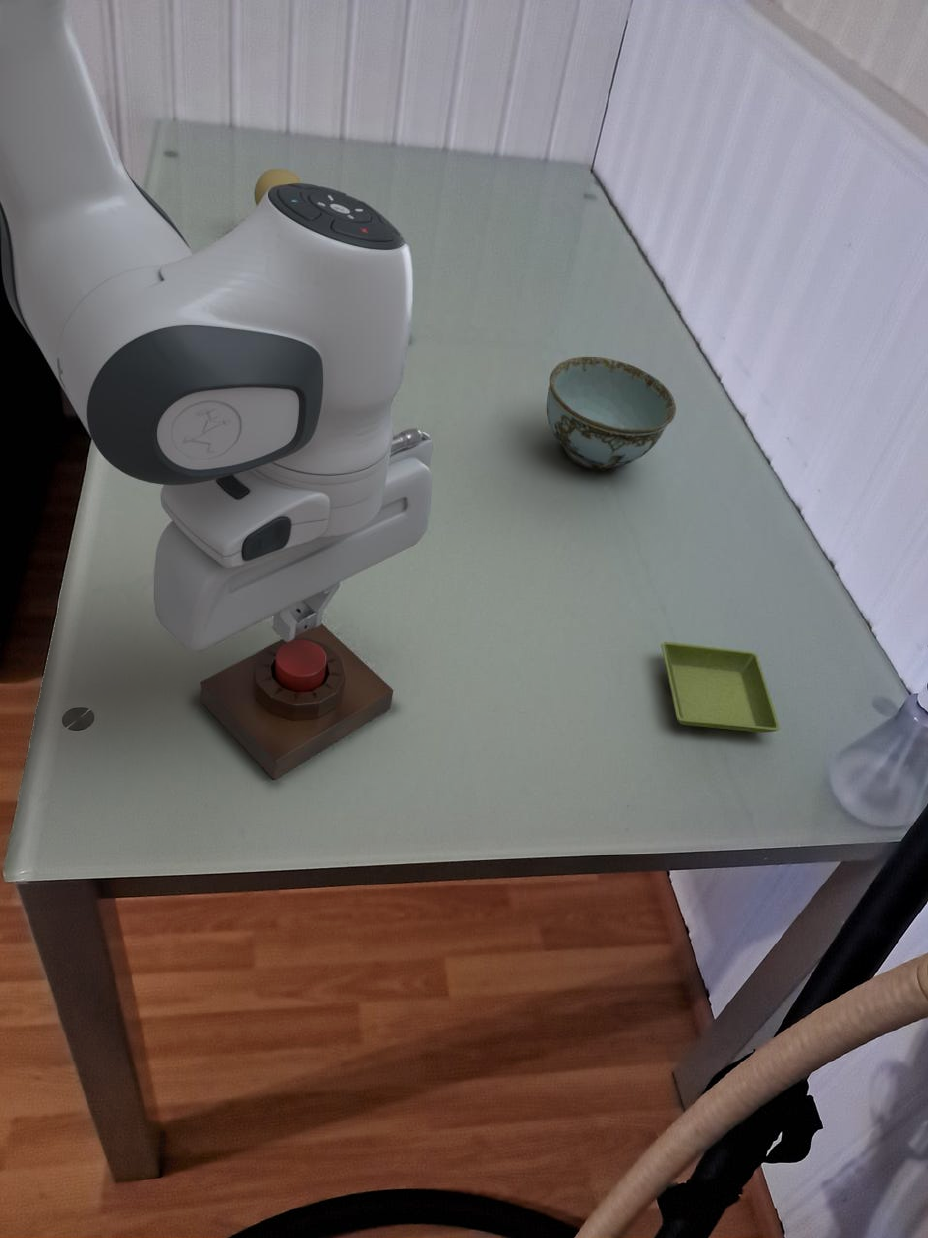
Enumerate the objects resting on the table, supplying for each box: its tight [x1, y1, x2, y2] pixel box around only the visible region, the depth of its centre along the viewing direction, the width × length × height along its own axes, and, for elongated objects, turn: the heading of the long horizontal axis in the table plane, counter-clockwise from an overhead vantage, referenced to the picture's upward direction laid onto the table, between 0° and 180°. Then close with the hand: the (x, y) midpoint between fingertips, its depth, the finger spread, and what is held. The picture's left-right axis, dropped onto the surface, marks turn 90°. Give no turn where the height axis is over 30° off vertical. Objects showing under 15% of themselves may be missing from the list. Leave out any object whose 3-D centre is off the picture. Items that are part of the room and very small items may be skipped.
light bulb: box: [253, 168, 303, 207], centre depth 122 cm, size 6×6×10 cm
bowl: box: [546, 356, 677, 471], centre depth 101 cm, size 14×13×8 cm
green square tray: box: [661, 641, 780, 734], centre depth 80 cm, size 9×9×2 cm
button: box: [275, 640, 326, 692], centre depth 70 cm, size 4×4×2 cm
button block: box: [199, 622, 394, 781], centre depth 71 cm, size 11×9×4 cm
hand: (296, 628), depth 67 cm, fingers closed
